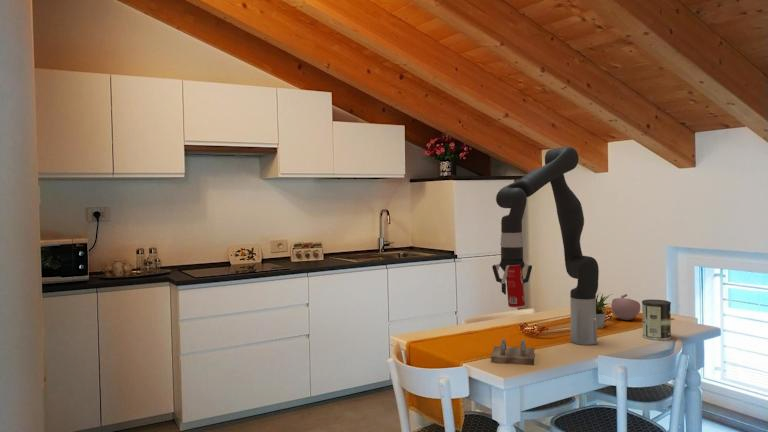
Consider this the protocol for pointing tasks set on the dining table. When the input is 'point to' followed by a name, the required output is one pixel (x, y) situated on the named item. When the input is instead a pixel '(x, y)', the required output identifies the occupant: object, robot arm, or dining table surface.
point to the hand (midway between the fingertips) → (512, 294)
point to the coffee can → (656, 319)
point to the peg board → (513, 354)
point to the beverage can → (515, 287)
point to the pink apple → (625, 308)
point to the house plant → (600, 311)
